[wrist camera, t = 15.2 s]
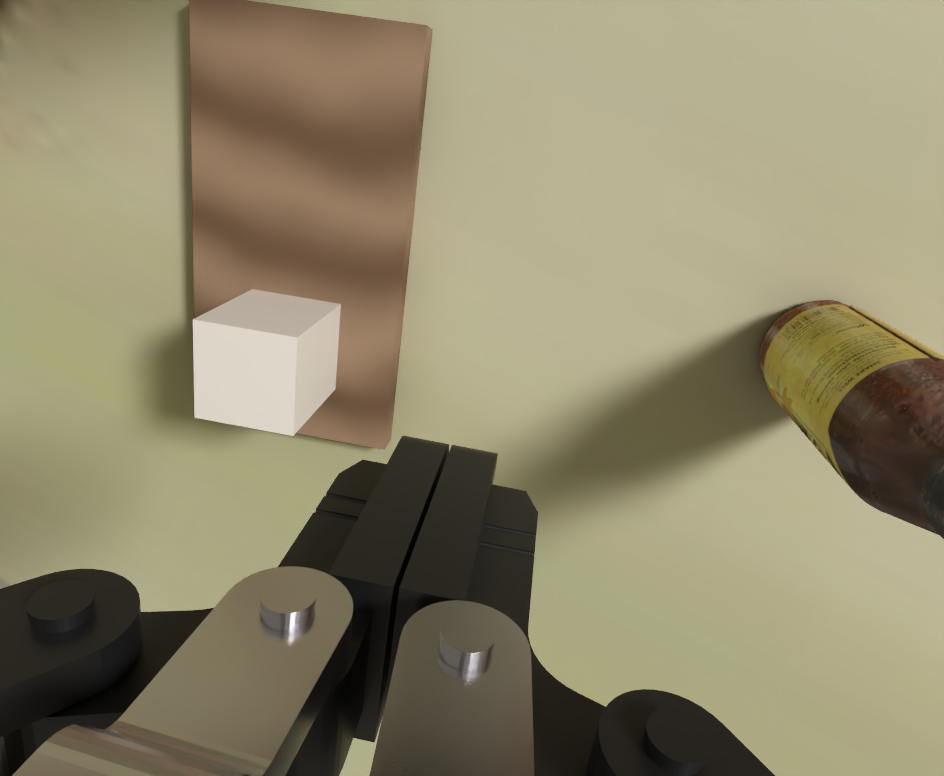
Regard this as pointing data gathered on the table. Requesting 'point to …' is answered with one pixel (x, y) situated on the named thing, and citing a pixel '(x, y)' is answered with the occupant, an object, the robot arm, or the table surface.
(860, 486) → the sauce bottle
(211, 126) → the board
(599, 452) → the table surface
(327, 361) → the white rectangular block
